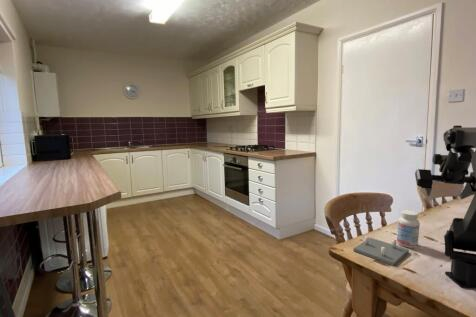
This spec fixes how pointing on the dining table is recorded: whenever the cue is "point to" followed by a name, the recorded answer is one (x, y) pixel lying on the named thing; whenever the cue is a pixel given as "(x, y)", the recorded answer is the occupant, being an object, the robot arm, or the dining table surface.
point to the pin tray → (381, 250)
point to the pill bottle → (408, 229)
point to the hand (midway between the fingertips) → (444, 196)
